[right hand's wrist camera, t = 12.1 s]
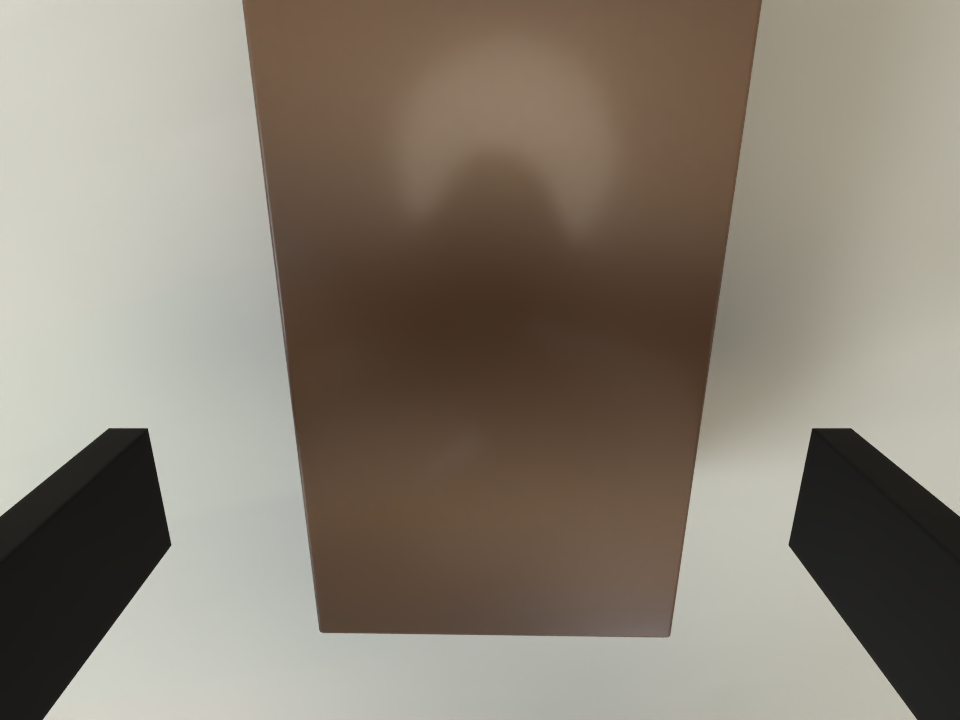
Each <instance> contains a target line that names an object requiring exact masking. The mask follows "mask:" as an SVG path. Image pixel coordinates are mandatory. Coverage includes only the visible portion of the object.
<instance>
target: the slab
mask: <svg viewBox="0 0 960 720" xmlns="http://www.w3.org/2000/svg"><path fill="white" fill-rule="evenodd" d="M242 2H243V11H244V19H245V27H246V35H247V43H248V51H249V60H250V68H251V76H252V84H253V92H254V100H255V109H256V117H257V125H258V133H259V141H260V149H261V158H262V166H263V174H264V182H265V190H266V198H267V207H268V215H269V223H270V231H271V239H272V247H273V256H274V264H275V272H276V280H277V288H278V296H279V305H280V313H281V321H282V329H283V337H284V346H285V354H286V362H287V370H288V378H289V386H290V395H291V403H292V411H293V419H294V427H295V435H296V444H297V452H298V460H299V468H300V476H301V484H302V493H303V501H304V509H305V517H306V525H307V533H308V542H309V550H310V558H311V566H312V574H313V582H314V591H315V599H316V607H317V615H318V623H319V630H320V632H322V633H377V634H451V635H526V636H600V637H669V636H670V633H671V626H672V619H673V612H674V605H675V598H676V592H677V585H678V578H679V571H680V564H681V557H682V550H683V543H684V536H685V529H686V522H687V515H688V508H689V502H690V495H691V488H692V481H693V474H694V467H695V460H696V453H697V446H698V439H699V432H700V425H701V418H702V411H703V405H704V398H705V391H706V384H707V377H708V370H709V363H710V356H711V349H712V342H713V335H714V328H715V321H716V315H717V308H718V301H719V294H720V287H721V280H722V273H723V266H724V259H725V252H726V245H727V238H728V231H729V224H730V218H731V211H732V204H733V197H734V190H735V183H736V176H737V169H738V162H739V155H740V148H741V141H742V134H743V128H744V121H745V114H746V107H747V100H748V93H749V86H750V79H751V72H752V65H753V58H754V51H755V44H756V37H757V31H758V24H759V17H760V10H761V3H762V0H242Z"/></svg>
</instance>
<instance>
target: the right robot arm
mask: <svg viewBox="0 0 960 720" xmlns="http://www.w3.org/2000/svg"><path fill="white" fill-rule="evenodd" d="M170 546H171V541H170V536H169V531H168V526H167V521H166V516H165V511H164V506H163V501H162V496H161V492H160V487H159V482H158V477H157V472H156V467H155V462H154V457H153V452H152V447H151V442H150V437H149V432H148V428H109V429H108V430H106V431H105V432H104V433H103V434H101V435H100V436H99V437H98V438H97V439H95V440H94V441H93V442H92V443H90V444H89V445H88V446H87V447H85V448H84V449H83V450H82V451H81V452H79V453H78V454H77V455H76V456H74V457H73V458H72V459H71V460H69V461H68V462H67V463H66V464H65V465H63V466H62V467H61V468H60V469H58V470H57V471H56V472H55V473H53V474H52V475H51V476H50V477H49V478H47V479H46V480H45V481H44V482H42V483H41V484H40V485H39V486H37V487H36V488H35V489H34V490H33V491H31V492H30V493H29V494H28V495H26V496H25V497H24V498H23V499H21V500H20V501H19V502H18V503H17V504H15V505H14V506H13V507H12V508H10V509H9V510H8V511H7V512H5V513H4V514H3V515H2V516H1V517H0V720H43V719H44V717H45V716H46V714H47V713H48V712H49V710H50V709H51V708H52V706H53V705H54V704H55V702H56V701H57V700H58V698H59V697H60V695H61V694H62V693H63V691H64V690H65V689H66V687H67V686H68V685H69V683H70V682H71V681H72V679H73V678H74V677H75V675H76V674H77V672H78V671H79V670H80V668H81V667H82V666H83V664H84V663H85V662H86V660H87V659H88V658H89V656H90V655H91V653H92V652H93V651H94V649H95V648H96V647H97V645H98V644H99V643H100V641H101V640H102V639H103V637H104V636H105V634H106V633H107V632H108V630H109V629H110V628H111V626H112V625H113V624H114V622H115V621H116V620H117V618H118V617H119V616H120V614H121V613H122V611H123V610H124V609H125V607H126V606H127V605H128V603H129V602H130V601H131V599H132V598H133V597H134V595H135V594H136V592H137V591H138V590H139V588H140V587H141V586H142V584H143V583H144V582H145V580H146V579H147V578H148V576H149V575H150V574H151V572H152V571H153V569H154V568H155V567H156V565H157V564H158V563H159V561H160V560H161V559H162V557H163V556H164V555H165V553H166V552H167V550H168V549H169V548H170ZM789 546H790V548H791V549H792V550H793V552H794V553H795V555H796V556H797V557H798V559H799V560H800V561H801V563H802V564H803V565H804V567H805V568H806V569H807V571H808V572H809V574H810V575H811V576H812V578H813V579H814V580H815V582H816V583H817V584H818V586H819V587H820V588H821V590H822V591H823V592H824V594H825V595H826V597H827V598H828V599H829V601H830V602H831V603H832V605H833V606H834V607H835V609H836V610H837V611H838V613H839V614H840V616H841V617H842V618H843V620H844V621H845V622H846V624H847V625H848V626H849V628H850V629H851V630H852V632H853V633H854V635H855V636H856V637H857V639H858V640H859V641H860V643H861V644H862V645H863V647H864V648H865V649H866V651H867V652H868V653H869V655H870V656H871V658H872V659H873V660H874V662H875V663H876V664H877V666H878V667H879V668H880V670H881V671H882V672H883V674H884V675H885V677H886V678H887V679H888V681H889V682H890V683H891V685H892V686H893V687H894V689H895V690H896V691H897V693H898V694H899V695H900V697H901V698H902V700H903V701H904V702H905V704H906V705H907V706H908V708H909V709H910V710H911V712H912V713H913V714H914V716H915V717H916V719H917V720H960V517H959V516H958V515H957V514H956V513H955V512H953V511H952V510H951V509H950V508H948V507H947V506H946V505H945V504H943V503H942V502H941V501H940V500H939V499H937V498H936V497H935V496H934V495H932V494H931V493H930V492H929V491H927V490H926V489H925V488H924V487H923V486H921V485H920V484H919V483H918V482H916V481H915V480H914V479H913V478H911V477H910V476H909V475H908V474H907V473H905V472H904V471H903V470H902V469H900V468H899V467H898V466H897V465H895V464H894V463H893V462H892V461H891V460H889V459H888V458H887V457H886V456H884V455H883V454H882V453H881V452H879V451H878V450H877V449H876V448H875V447H873V446H872V445H871V444H870V443H868V442H867V441H866V440H865V439H863V438H862V437H861V436H860V435H859V434H857V433H856V432H855V431H854V430H852V429H851V428H812V432H811V437H810V442H809V447H808V452H807V457H806V462H805V467H804V472H803V477H802V482H801V487H800V492H799V496H798V501H797V506H796V511H795V516H794V521H793V526H792V531H791V536H790V541H789Z"/></svg>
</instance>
